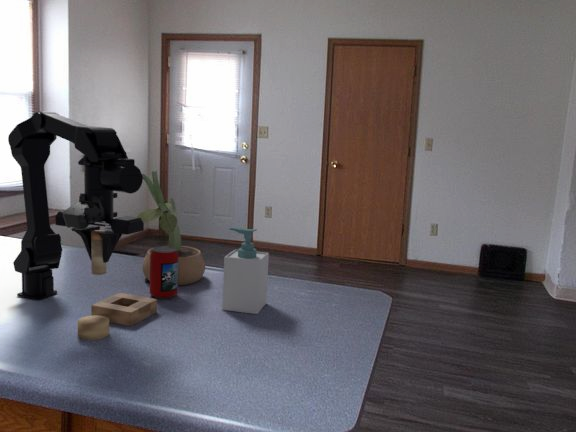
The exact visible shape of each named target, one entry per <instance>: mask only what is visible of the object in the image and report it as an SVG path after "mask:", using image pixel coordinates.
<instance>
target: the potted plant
mask: <svg viewBox="0 0 576 432" xmlns="http://www.w3.org/2000/svg"><path fill="white" fill-rule="evenodd" d="M141 174H142V176H143V181H144V182H145V183H146V185H147V187H148V189H149V192H150V193H151V196H152V199H153V200H154V202H155V203H156V205H157V206H155V208H152V209H147V210H144V211H141V212H140V213H139V214H137V216H136V217H140V218H141V219H142V220H143V222H144V224H147V223H149V222H151V221H155V220H157V219H159V218H160V220H159V221H158V222H159V223H158V224H159V227H160V228H161V230H163V231H164V232H167V233H168V246H170V247H174V248H175V249H176V252H177V254H178V286H186V285H192V284H194V283H197V282H198V281H199V280H201V279H202V277H203V275H204V274H205V271H206V262H205V259H204V257H203V255H202V252H201V250H200V249H198V248H196V247H192V246H186V245H182V237H181V230H180V227H179V224H178V214H177V207H176V203H175V200H174V199H173V197H172V198H170V201H169V202H166V203H165V199H164V195H163V192H162V189H161V186H160V183H159V177H158V170H152V171H151V178H152V180H151V179H150V178H149V177H148V176H147V175H146V174H144V173H141ZM171 208H172V212H171V210H170V209H171ZM153 248H154V247H151V248H150V249H148V250H147V251H146V252H147V253H146V254H145V256H144V259H143V262H142V273H143V275H144V277H145V278H146V279H147V281H149V282H150V255H151V253H152V251H153Z"/></svg>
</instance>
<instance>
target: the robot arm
mask: <svg viewBox="0 0 576 432" xmlns="http://www.w3.org/2000/svg"><path fill="white" fill-rule="evenodd" d="M117 134H118V133H117V131H116V130H115V129H114V128H112V127H105V126H103V127H102V126H92V125H87V124H83V123H81V122H78V121H76V120H73V119H71V118H68V117H66V116H63V115H60V114H59V113H58V112H55V111H43V110H42V111H41V110H40V111H39V110H38V111H36V112H34V113H33V114H32V116H31V117H29V118H27V119H26V120H23V121H21V122H19V123H18V124H16V126H15V127H14V128H13V129H12V131H10V133H9V134H8V138H7V140H8V144H9V147H10V152H11V156H12V157H13V159H14V160H15V161H16V163H17V164H18V165H19V167H20V170H21V181H22V189H23V190H22V191H23V200H24V209H25V210H24V211H25V216H26V218H25V219H26V227H27V228H26V231H25V232H24V235H23V237H22V238H21V241H20V244H21V245H20V248H21V249H20V250H21V251H20V252H19V254H18V255H17V256H16V257H15V259H14V261H12V262H13V263H12V264H13V267H14V271H15V272H17V273H18V274H19V273H20V274H21V289H22V290H21V291H20V292H18V293H16V296H17V297H21V298H27V299H32V300H37V301H38V300H42V299H45V298H47V297H50V296H53V295H55V294H57V293H58V290H57V289H54V288H55V287H54V286H55V285H54V276H53V270H55V269H56V270H57V269H59V267H60V263H61V259H62V254H63V247H62V238H61V235H60V234H59V233H56V232H55V231H54V230H53V229H52V228H51V222H50V211H49V202H48V192H47V190H48V189H47V182H46V171H45V166H46V163H47V161H48V159H49V157H50V155H51V145H52V144H53V143H54V142H55V141H56V140H57V137H59V138H61V139H64V140H65V141H69V142H70V143H72V144H73V145H74V148H75V150H77V151H78V152H80V153H81V154H83V155H84V156H83V157H82V158H81V159H79V160H78V161H77V163H78V165H79V166H83V167H84V168H83V170H84V172H83V173H84V174H83V175H84V178H83V179H84V180H83V181H84V185H83V187H84V192H82V193H80V194H79V199H78V202H76V203H74V204H72V205H71V206H69V207H68V208H66V209H65V210H62V211H61V210H60V211H58V212H57V214H55V216H54V220H55V222H54V224H55V226H61V227H66V228H68V229H69V228H70V229H71V231H72V232H75V233H76V234H77V235H79V237H80V238H81V239H82V241H83V244H84V246H85V249H86V252H87V254H88V257H89V259H90V261H91V262H92V260H91V231H94V230H101V227H104V231H103V232H99V235H100V236H101V238H102V244H103V262H104V263H106V264H107V263H108V262H110V258H111V256H112V254H113V252H114V251H115V248H116V247H117V244H118V243H119V241H120V239H121V237H122V236H123V235H131V234H135V233H140V232H143V231H145V227H144V225H145V223H144V222H143V220H142V219H141V218H140V217H137V216H132V215H131V216H130V215H125V216H121V217H118V211H114V199H117V198H118V193H119V192H120V193H124V194H134V193H136V192H139V190H140V189H141V187H142V184H143V181H144V180H143V176H142V174H143V173H142V172H141V170H140V168H139V167H138V166H136V165H135V159H134V158H129V157H128V155H127V152H126V151H125V149H124V146H123V144H122V143H121V139H120V138H119V136H118V135H117Z"/></svg>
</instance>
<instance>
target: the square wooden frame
mask: <svg viewBox="0 0 576 432" xmlns="http://www.w3.org/2000/svg"><path fill="white" fill-rule="evenodd" d="M90 306H91V307H90V308H91V315H90V316H94V315H98V316H105V317H107V318H109V323H113V324H119V325H124V326H128V327H132V326H133V325H135V324H138V323H140V322H142V321H143V320H145V319H147V318H149V317H151V316H153V315H154V314H156V313H158V298H152V297H146V296H141V295H135V294H129V293H123V292H118V293H116V294H114V295H111V296H108V297H107V298H104V299H101V300H100V301H97V302H95V303H93V304H91V305H90Z"/></svg>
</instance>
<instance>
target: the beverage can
mask: <svg viewBox="0 0 576 432" xmlns="http://www.w3.org/2000/svg"><path fill="white" fill-rule="evenodd" d="M152 248H153V251H152V253H151V255H150V281H149V294H150V295H151V296H153V297H154V298H155V299H160V300H161V299H165V300H166V299H171V298H173V297H174V296H176V295H177V294H178V286H179V285H178V254H177V252H176V249H175V248H174V247H170V246H169V245H159V246H155V247H152Z"/></svg>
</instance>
